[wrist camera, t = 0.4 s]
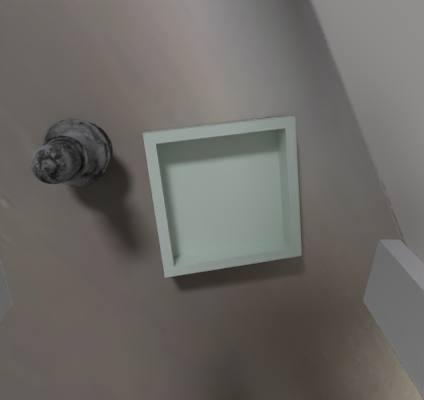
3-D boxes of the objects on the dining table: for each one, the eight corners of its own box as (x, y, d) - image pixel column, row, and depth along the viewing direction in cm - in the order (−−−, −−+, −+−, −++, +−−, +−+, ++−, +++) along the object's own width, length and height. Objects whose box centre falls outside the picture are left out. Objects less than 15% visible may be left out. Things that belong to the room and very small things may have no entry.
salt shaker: (127, 146, 35) (110, 163, 23) (90, 191, 35) (54, 229, 24) (77, 104, 33) (32, 101, 22) (39, 152, 34) (-25, 173, 22)
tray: (144, 131, 35) (142, 133, 31) (282, 115, 36) (295, 115, 33) (164, 263, 38) (165, 277, 35) (290, 243, 40) (301, 255, 36)
